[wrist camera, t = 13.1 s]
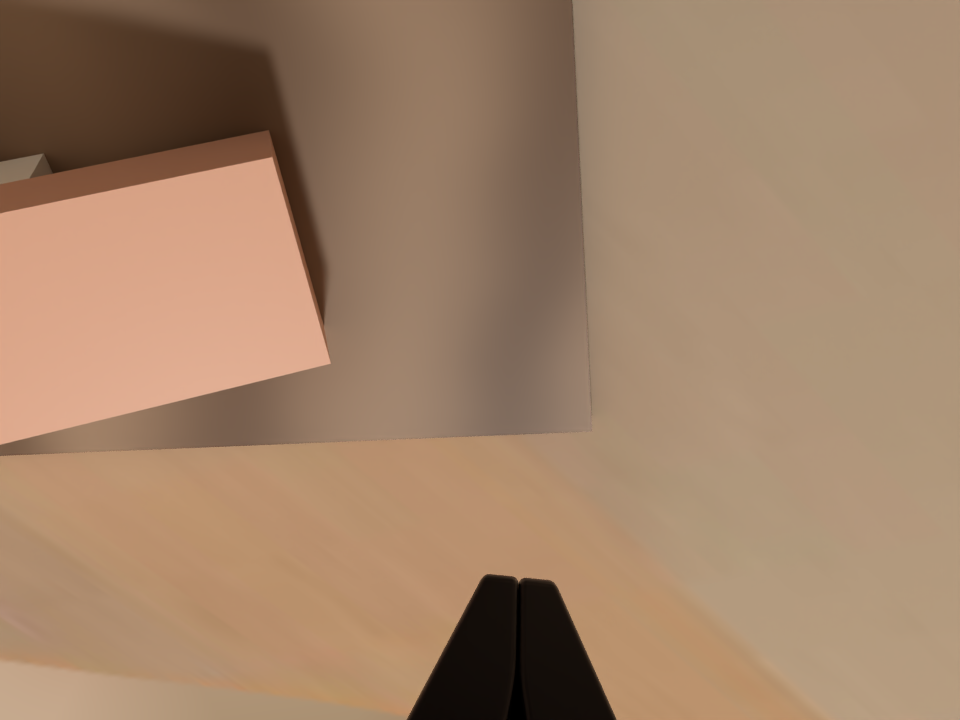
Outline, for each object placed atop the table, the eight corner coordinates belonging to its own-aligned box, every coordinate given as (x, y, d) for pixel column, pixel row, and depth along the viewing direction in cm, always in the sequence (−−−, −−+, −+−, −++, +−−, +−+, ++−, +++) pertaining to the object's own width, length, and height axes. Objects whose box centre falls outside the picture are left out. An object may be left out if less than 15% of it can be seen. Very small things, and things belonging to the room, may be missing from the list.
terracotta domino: (323, 326, 19) (-54, 416, 18) (268, 130, 16) (-184, 221, 15) (330, 363, 18) (-76, 463, 16) (272, 157, 15) (-223, 259, 14)
